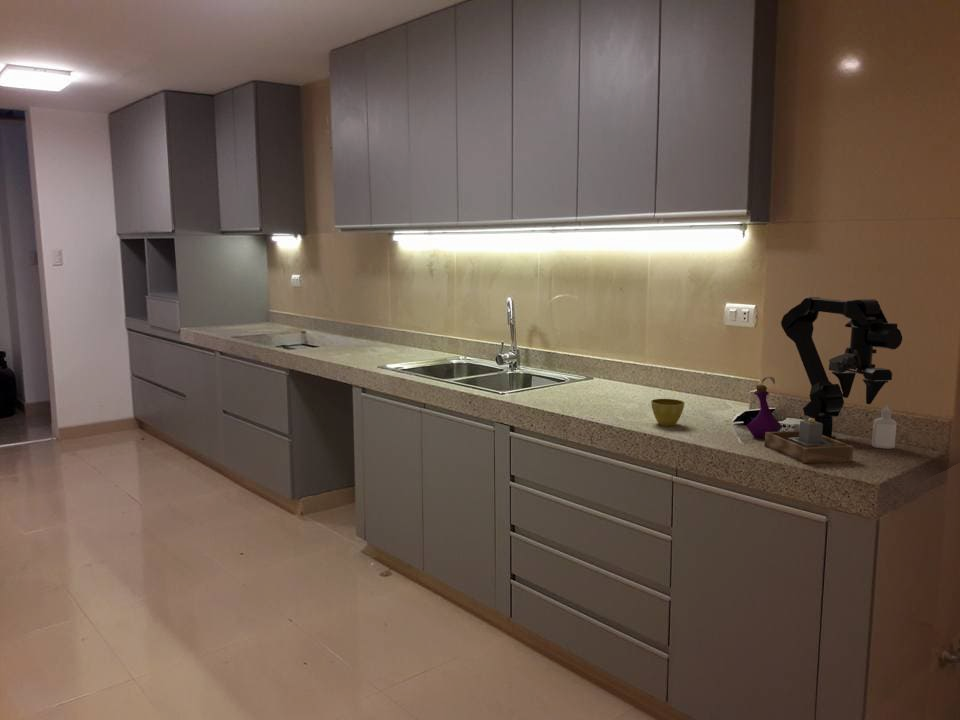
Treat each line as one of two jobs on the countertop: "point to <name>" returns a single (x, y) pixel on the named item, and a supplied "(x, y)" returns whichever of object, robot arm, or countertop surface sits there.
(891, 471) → the countertop surface
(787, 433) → the walnut box
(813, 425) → the grey box with knob
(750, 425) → the perfume bottle
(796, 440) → the collar
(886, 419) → the eye dropper bottle
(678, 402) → the flower pot
